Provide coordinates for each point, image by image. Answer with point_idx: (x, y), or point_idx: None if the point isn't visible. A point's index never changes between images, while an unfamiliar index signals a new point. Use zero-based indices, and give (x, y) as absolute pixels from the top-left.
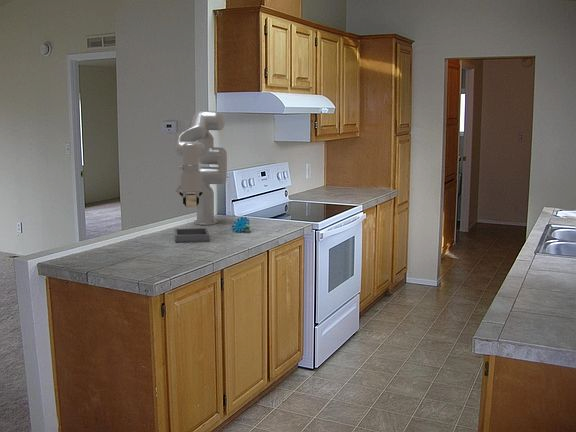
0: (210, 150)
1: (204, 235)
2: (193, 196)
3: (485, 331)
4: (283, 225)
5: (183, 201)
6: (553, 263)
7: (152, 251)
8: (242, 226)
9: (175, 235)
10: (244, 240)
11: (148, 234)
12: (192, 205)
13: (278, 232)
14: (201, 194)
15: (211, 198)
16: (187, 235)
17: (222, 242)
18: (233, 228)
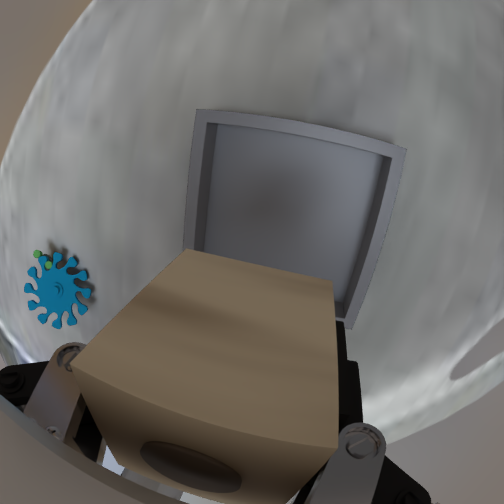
0: None
1: (224, 111)
2: (146, 368)
3: None
4: (6, 299)
5: (354, 384)
6: None
7: (500, 41)
8: (53, 272)
9: (403, 163)
10: (73, 116)
11: (430, 361)
12: (234, 273)
13: (2, 223)
14: (23, 367)
15: (125, 475)
16: (333, 128)
17: (154, 86)
18: (85, 292)
